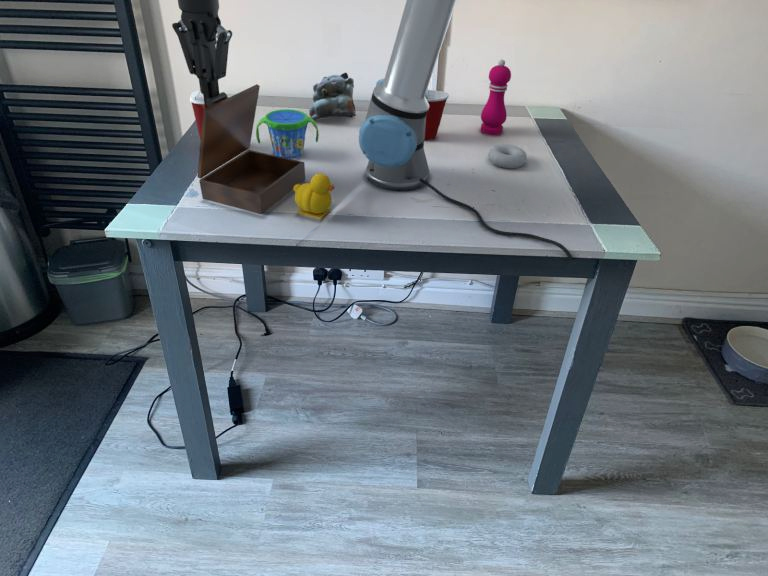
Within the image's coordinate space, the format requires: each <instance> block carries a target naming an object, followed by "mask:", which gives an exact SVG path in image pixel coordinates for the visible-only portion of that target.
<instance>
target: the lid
mask: <svg viewBox="0 0 768 576" xmlns="http://www.w3.org/2000/svg"><path fill="white" fill-rule="evenodd" d="M260 88H261V85H259V84H257V83H256V84H255V85H252V86H250V87H247V88H246V89H244V90H242V91H240V92H238V93H235V94H234V95H231V96H230V97H228V95H227V93H226V92H225V91H221V92H219V95H217V96H213V97H211V98H208V99H207V100H206V104H207V106H208V108H206V109H204V111H203V122H202V132H201V140H200V145H199V154H198V165H197V175H196V176H197V178H198V179H199V180H200V179H202V178H203V177H205V176H207V175H208V174H210V173H211V172H213V171H215V170H216V169H218V168H219V167H221V166H223V165H224V164H226V163H228V162H229V161H231V160H232V159H234V158H236V157H237V156H239V155H240V154H242V153H244V152H245V151H247V150H250V147H251V143H252V135H253V130H254V124H255V117H256V111H257V105H258V99H259V93H260Z"/></svg>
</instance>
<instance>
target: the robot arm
mask: <svg viewBox="0 0 768 576" xmlns="http://www.w3.org/2000/svg"><path fill="white" fill-rule="evenodd" d="M457 1H458V0H406V1H405V5H404V8H403V12H402V15H401V19H400V23H399V26H398V30H397V33H396V37H395V40H394V44H393V47H392V52H391V54H390V57H389V61H388V65H387V67H386V68H387V69H386V73H385V75H384V78H380V79H379V80H378V81H376V84H375V87H374V88H373V90H372V94H371V97H370V102H369V105H368V109H367V111H366V116H365V119H364V121H363V122H362V124H361V125H360V127H359V130H358V131H359V132H358V144H359V148H360V150H361V152H362V153H363V155H364V156H365V158H366V159H367V160H368V162H367V165H366V168H365V169H366V170H365V171H366V173H365V174H366V180H367V181H368V182H369V183H371V184H372V185H374V186H376V187H378V188H381V189H385V190H390V191H411V190H415V189H419V188H421V187H424V186H427V187H428V188H429V189H431V190H432V191H433V192H434V193H436V194H437V195H438V196H439V197H442V199H445V200H447V201H449V202H451V203H453V204H455V205H458V206H461V207H463V208H466V209H468V210H469V211H471V212H473V213H474V214H475V216H476V218H477V219H478V220H479V222H480V224H481V225H482V226H483V227H484V228H485V229H487V230H489V231H490V232H492V233H495V234H498V235H503V236H510V237H511V236H513V237H525V238H530V239H533V240H537V241H540V242H545V243H548V244H551V245H554V246H557V247H558V248H559V249H561V250H562V252H564V253H565V255H566V257H567V258H568V259H569V260H571V261H572V260H574V258H573V256H572V254H571V252H570V251H569V250H568V249H567V247H565V245H564V244H562V243H560V242H558V241H556V240H553V239H549V238H546V237H542V236H539V235H536V234H533V233H532V234H531V233H525V232H514V231H504V230H499V229H496V228H494V227H492V226H490V225H488V224H487V223H486V222H485V221H484V219H483V217H482V215H481V214H480V213H479V211H478V210H476V208H474V207H472V206H471V205H469V204H467V203H464V202H462V201H459V200H456V199H455V198H452V197H450V196H448V195H446V194H444V193H442V192H441V191H440V190H438V188H436V187H435V186H433V185H432V184H431V183H429V179H430V178H429V177H430V168H429V164H428V160H427V156H426V151H425V140H424V136H425V123H426V115H427V112H428V109H429V104H428V102H427V98H428V97H429V96H428V90H429V85H430V83H431V79H432V77H433V74H434V70H435V67H436V65H437V62H438V58H439V55H440V52H441V49H442V46H443V44H444V40H445V38H446V34H447V31H448V28H449V26H450V23H451V18H452V16H453V13H454V10H455V7H456V4H457ZM177 5H178V8H179V10H180V11H181V14H180V20H178V21H177V22H173V23H172V24H171V27H172V29H173V31H174V32H175V34H176V35H177V38H178V42H179V45H180V48H181V50H182V53H183V56H184V60H185V63H186V66H187V69H188V72H189V74H190V75H194V76H196V78H197V79H198V85H199V91H201V94H203V97H204V104H205V109H206V108H208V106H207V104H206V100H207V99H208V98H211V97H213V96H217V95H219V93H220V83H219V80H220V79H223V78H225V77H226V76H227V67H228V56H229V46H230V41H231V39H232V37H233V31H232V30H231V29H228V30H227V29H226V28H225V27H224V26H223V25H222V20H221V19H220V16H219V10H220V1H219V0H177Z"/></svg>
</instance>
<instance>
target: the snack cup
mask: <svg viewBox="0 0 768 576" xmlns="http://www.w3.org/2000/svg"><path fill="white" fill-rule="evenodd" d="M308 123H311V124H312V125H313V127H314V128H315V131H316V132H315V143H318V142H319V136H320V135H319V128H318V125H317V123H316V121H315V120H313V119H312V118H311V116H308V115H307V114H306V113H305V112H303V111H301V110H299V109H298V110H296V109H288V108H287V109H286V108H285V109H283V108H282V109H277V110H272V111H269V112H267V113H266V115H265V116H264V117H262V118H261V119H259V120H258V122H257V124H256V128H255V137H256V141H257V143H258V144H261V138H260V132H259V127H260V126H261V125H262V124H265V125H266V126H267V129H268V134H269V138H270V142H271V146H272V152H273V155H275V156H280V157H284V158H288V159H295V158H298V157H301V156H303V154H304V152H305V142H306V141H305V140H306V132H307V129H308Z"/></svg>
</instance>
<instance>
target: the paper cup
mask: <svg viewBox="0 0 768 576" xmlns="http://www.w3.org/2000/svg"><path fill="white" fill-rule="evenodd" d="M189 102H190V103H191V106H192V111H193V114H194V119H195V124H196V127H197V132H198V136H199V140H200V141H201V132H202V122H203V111H204V109H205V104H204V97H203V94H201V91H200V89H198V90H194V91H192V92H191V93H190V98H189Z"/></svg>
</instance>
